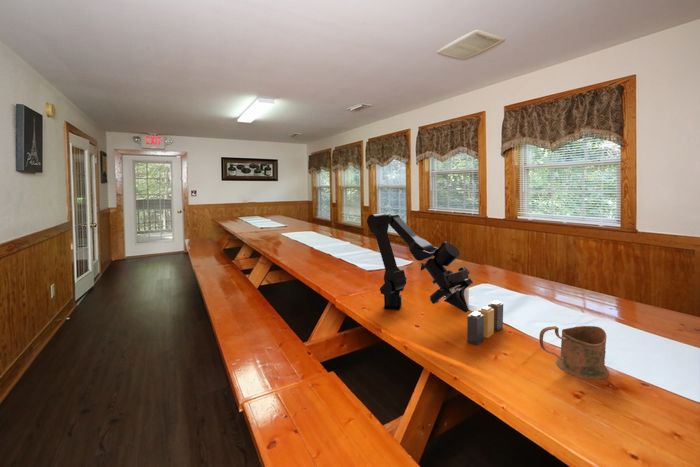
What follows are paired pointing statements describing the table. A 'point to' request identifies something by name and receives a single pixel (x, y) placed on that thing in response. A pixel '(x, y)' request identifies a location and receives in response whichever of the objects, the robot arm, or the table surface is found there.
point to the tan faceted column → (488, 320)
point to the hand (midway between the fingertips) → (467, 311)
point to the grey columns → (477, 323)
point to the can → (466, 295)
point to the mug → (581, 351)
